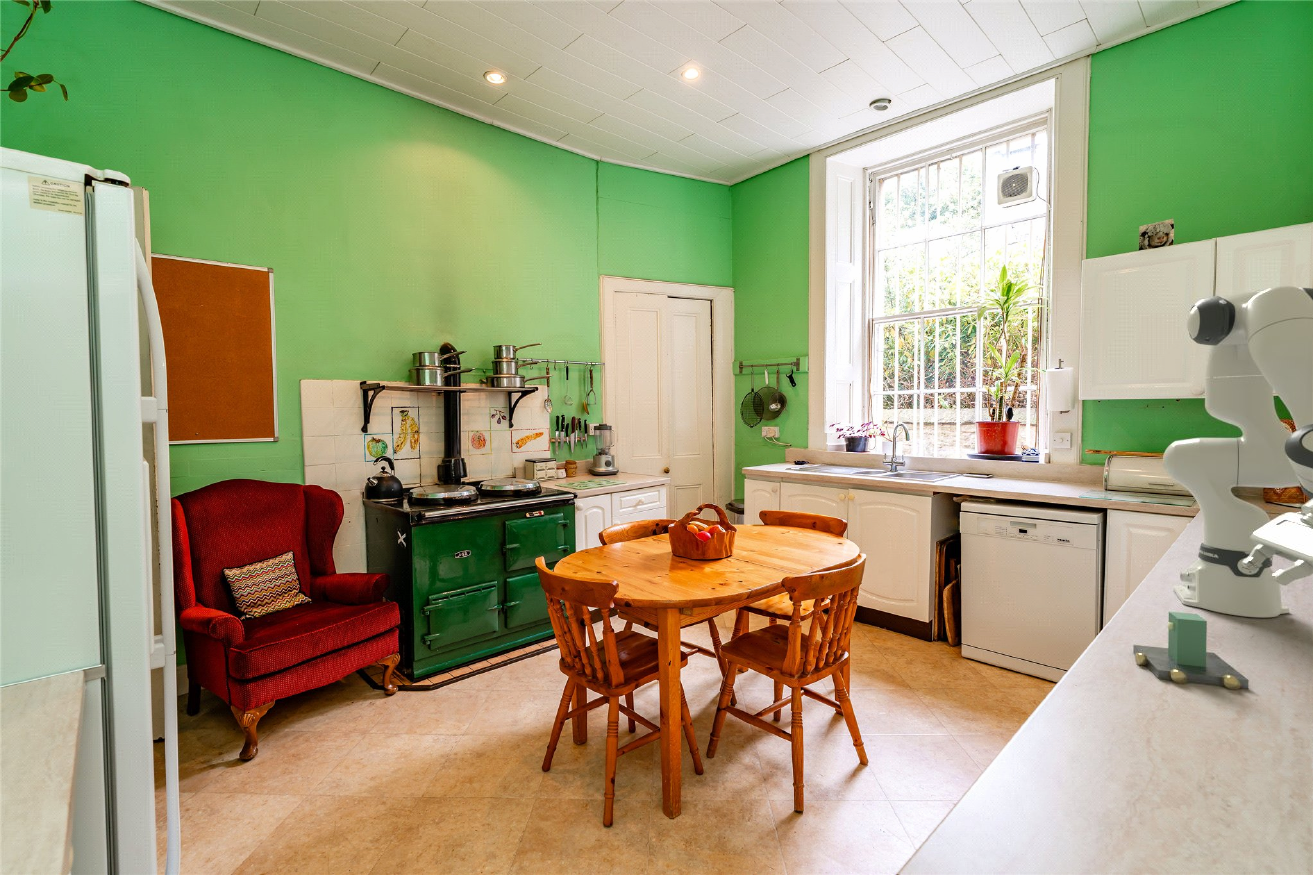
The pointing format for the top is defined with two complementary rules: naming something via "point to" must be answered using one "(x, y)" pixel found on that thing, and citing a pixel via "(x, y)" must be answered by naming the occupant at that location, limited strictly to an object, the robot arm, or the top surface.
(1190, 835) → the top surface
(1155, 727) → the top surface
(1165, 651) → the level base plate
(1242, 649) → the top surface
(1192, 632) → the block
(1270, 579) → the robot arm
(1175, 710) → the top surface
